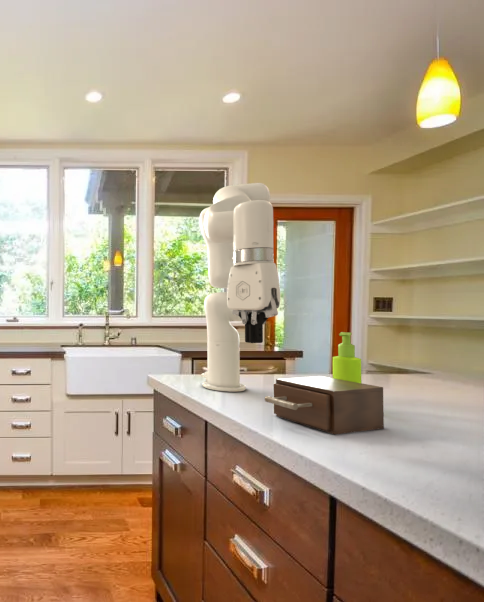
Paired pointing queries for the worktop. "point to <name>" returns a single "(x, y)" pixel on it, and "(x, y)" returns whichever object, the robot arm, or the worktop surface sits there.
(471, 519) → the worktop surface
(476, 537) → the worktop surface
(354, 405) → the cabinet
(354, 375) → the soap dispenser
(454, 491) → the worktop surface
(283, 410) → the drawer
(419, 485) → the worktop surface
